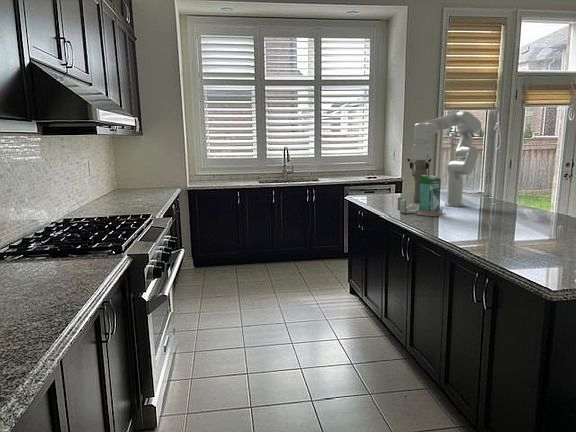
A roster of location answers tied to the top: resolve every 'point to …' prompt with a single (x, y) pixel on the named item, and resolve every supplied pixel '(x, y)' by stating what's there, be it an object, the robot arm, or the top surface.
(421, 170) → the thermos
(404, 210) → the carton sled
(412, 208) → the cube sled
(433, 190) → the milk carton
